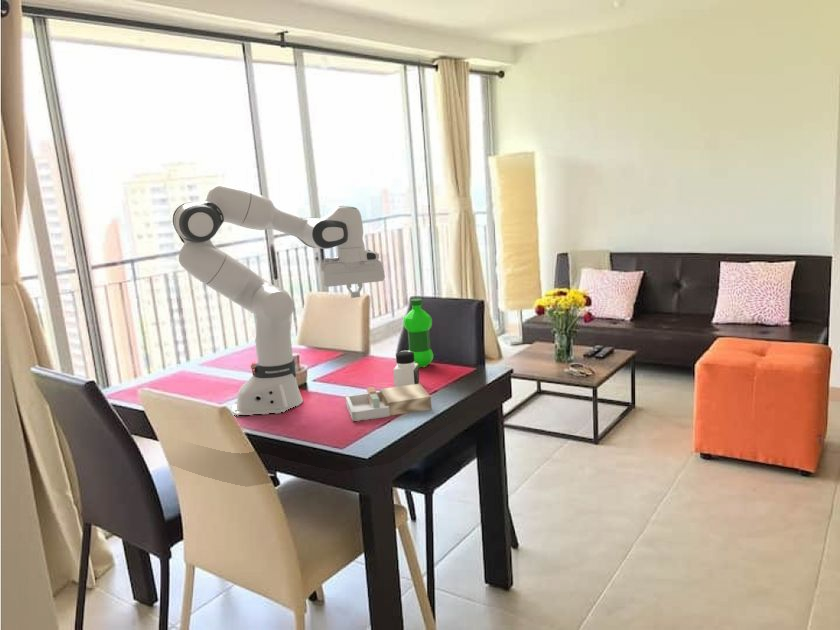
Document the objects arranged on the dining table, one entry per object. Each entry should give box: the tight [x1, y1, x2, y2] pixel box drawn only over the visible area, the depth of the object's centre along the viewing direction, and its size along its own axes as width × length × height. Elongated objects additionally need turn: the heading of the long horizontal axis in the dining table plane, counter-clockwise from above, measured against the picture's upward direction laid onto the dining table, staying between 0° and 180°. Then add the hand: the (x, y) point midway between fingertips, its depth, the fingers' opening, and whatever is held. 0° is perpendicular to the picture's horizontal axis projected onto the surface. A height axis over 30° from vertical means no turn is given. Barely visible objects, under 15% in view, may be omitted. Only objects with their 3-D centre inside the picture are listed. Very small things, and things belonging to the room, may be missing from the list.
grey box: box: [344, 390, 391, 422], centre depth 203 cm, size 11×16×3 cm
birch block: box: [379, 383, 432, 416], centre depth 205 cm, size 13×14×4 cm
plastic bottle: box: [402, 298, 434, 368], centre depth 245 cm, size 10×10×25 cm
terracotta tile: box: [366, 386, 377, 407], centre depth 207 cm, size 5×5×2 cm
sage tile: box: [370, 394, 380, 408], centre depth 200 cm, size 5×5×2 cm
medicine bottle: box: [392, 350, 420, 387], centre depth 223 cm, size 7×7×12 cm
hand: (355, 297), depth 220 cm, fingers closed
